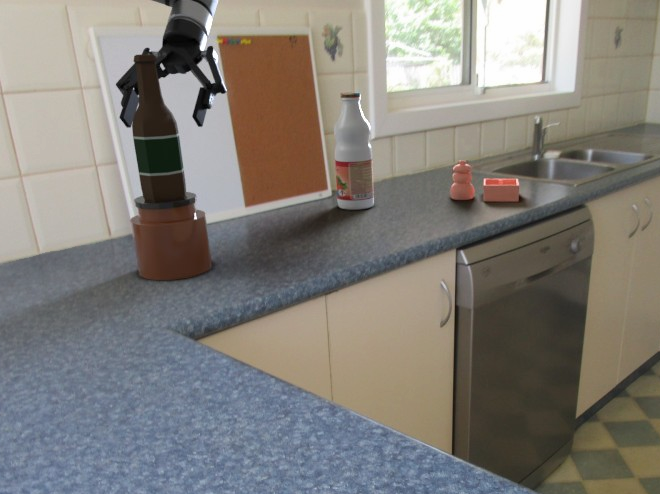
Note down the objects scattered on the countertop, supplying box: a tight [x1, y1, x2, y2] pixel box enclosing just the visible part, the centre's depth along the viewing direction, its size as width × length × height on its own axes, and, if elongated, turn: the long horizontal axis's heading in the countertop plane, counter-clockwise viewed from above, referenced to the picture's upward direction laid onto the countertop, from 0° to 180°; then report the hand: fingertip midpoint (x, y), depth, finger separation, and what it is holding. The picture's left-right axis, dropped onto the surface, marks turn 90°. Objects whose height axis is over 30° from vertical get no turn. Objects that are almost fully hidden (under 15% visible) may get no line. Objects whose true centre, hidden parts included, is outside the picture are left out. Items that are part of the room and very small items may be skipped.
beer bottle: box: [131, 54, 187, 201], centre depth 115 cm, size 8×8×24 cm
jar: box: [129, 191, 213, 281], centre depth 121 cm, size 13×13×14 cm
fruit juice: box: [333, 91, 375, 211], centre depth 166 cm, size 9×9×28 cm
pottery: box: [449, 159, 520, 202], centre depth 176 cm, size 18×10×10 cm, turn 83°
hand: (160, 122), depth 117 cm, fingers open, 13 cm apart
